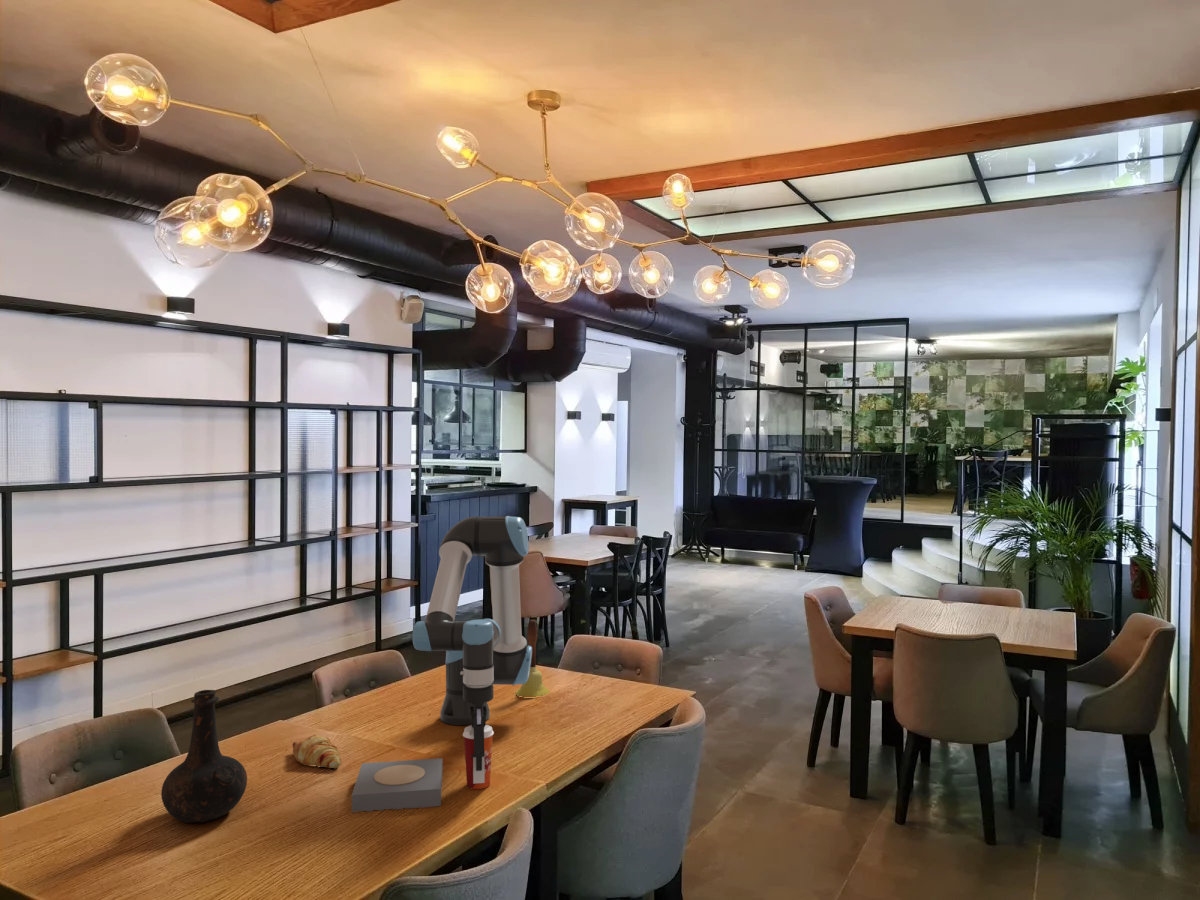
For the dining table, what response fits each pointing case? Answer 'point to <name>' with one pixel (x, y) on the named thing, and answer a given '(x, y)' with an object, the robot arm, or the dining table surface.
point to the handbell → (532, 669)
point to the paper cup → (469, 751)
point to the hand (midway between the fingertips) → (478, 776)
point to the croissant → (317, 752)
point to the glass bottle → (204, 771)
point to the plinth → (398, 785)
